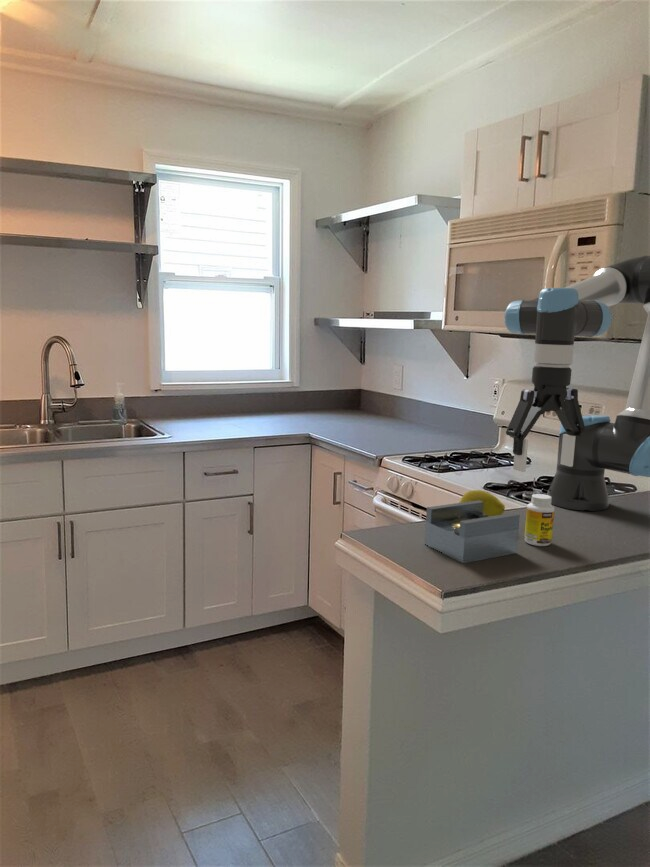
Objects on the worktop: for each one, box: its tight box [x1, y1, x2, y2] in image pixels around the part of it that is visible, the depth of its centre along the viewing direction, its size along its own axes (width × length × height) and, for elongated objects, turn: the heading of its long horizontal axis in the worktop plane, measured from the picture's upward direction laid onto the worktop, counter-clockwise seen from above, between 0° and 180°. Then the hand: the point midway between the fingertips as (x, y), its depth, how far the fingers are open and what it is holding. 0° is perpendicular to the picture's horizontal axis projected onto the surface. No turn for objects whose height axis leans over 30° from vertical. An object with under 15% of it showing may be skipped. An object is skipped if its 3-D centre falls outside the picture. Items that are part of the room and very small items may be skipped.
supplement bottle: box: [523, 493, 556, 547], centre depth 143 cm, size 6×6×10 cm
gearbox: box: [424, 500, 521, 564], centre depth 138 cm, size 14×12×8 cm
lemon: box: [458, 489, 506, 517], centre depth 154 cm, size 11×8×8 cm
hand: (543, 468), depth 141 cm, fingers open, 13 cm apart
